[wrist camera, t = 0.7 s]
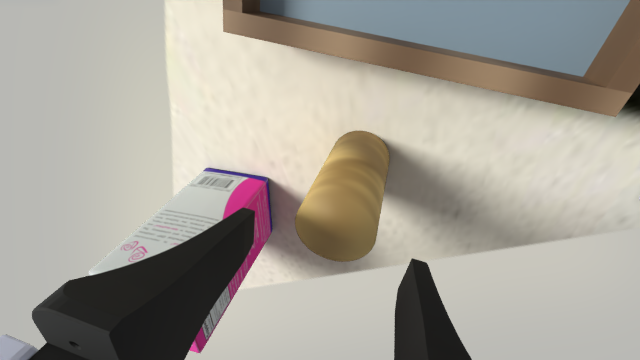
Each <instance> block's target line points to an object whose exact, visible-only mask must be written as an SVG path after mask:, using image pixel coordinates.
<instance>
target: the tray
mask: <svg viewBox="0 0 640 360" xmlns="http://www.w3.org/2000/svg"><path fill="white" fill-rule="evenodd" d="M223 31H224V32H227V33H232V34H237V35H241V36H246V37H250V38H255V39H260V40H264V41H269V42H273V43H278V44H283V45H287V46H292V47H296V48H301V49H306V50H310V51H315V52H319V53H324V54H329V55H333V56H338V57H342V58H347V59H352V60H356V61H361V62H365V63H370V64H375V65H379V66H384V67H388V68H393V69H398V70H402V71H407V72H411V73H416V74H421V75H425V76H430V77H434V78H439V79H444V80H448V81H453V82H457V83H462V84H467V85H471V86H476V87H480V88H485V89H490V90H494V91H499V92H503V93H508V94H512V95H517V96H522V97H526V98H531V99H535V100H540V101H545V102H549V103H554V104H558V105H563V106H568V107H572V108H577V109H581V110H586V111H591V112H595V113H600V114H604V115H609V116H614V117H616V116H617V114H618V113H619V111H620V110H621V109H622V107H623V106H624V105H625V103H626V102H627V100H628V99H629V98H630V96H631V95H632V94H633V92H634V91H635V89H636V88H637V87H638V85H639V84H640V0H630V2H629V3H628V5H627V6H626V8H625V10H624V11H623V13H622V15H621V16H620V18H619V19H618V21H617V23H616V24H615V26H614V27H613V29H612V31H611V32H610V34H609V36H608V37H607V39H606V40H605V42H604V44H603V45H602V47H601V49H600V50H599V52H598V53H597V55H596V57H595V58H594V60H593V61H592V63H591V65H590V66H589V68H588V70H587V71H586V73H585V74H584V76H583V77H581V76H576V75H571V74H567V73H562V72H557V71H552V70H547V69H542V68H537V67H532V66H527V65H522V64H517V63H512V62H507V61H502V60H498V59H493V58H488V57H483V56H478V55H473V54H468V53H463V52H458V51H453V50H448V49H443V48H438V47H434V46H429V45H424V44H419V43H414V42H409V41H404V40H399V39H394V38H389V37H384V36H379V35H374V34H370V33H365V32H360V31H355V30H350V29H345V28H340V27H335V26H330V25H325V24H320V23H315V22H310V21H305V20H301V19H296V18H291V17H286V16H281V15H276V14H271V13H266V12H261V11H260V0H223Z"/></svg>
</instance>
